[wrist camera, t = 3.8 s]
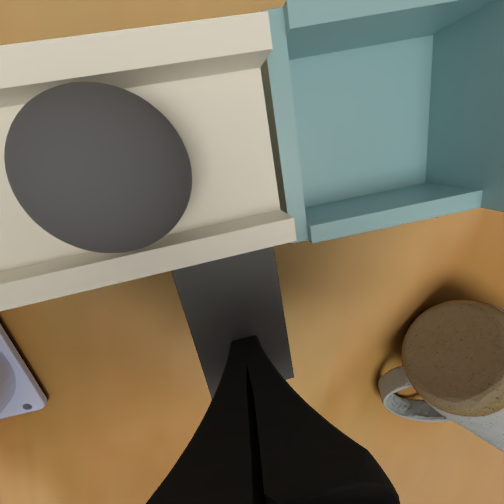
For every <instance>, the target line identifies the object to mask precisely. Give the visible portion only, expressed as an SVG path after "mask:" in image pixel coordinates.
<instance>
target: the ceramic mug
mask: <svg viewBox="0 0 504 504" xmlns="http://www.w3.org/2000/svg"><path fill="white" fill-rule="evenodd" d="M402 363H403V365H402V366H400V367H396V368H393V369H391V370H389V371H388V372H387V373H385V374H384V375H382V376H381V378H380V380H379V382H378V387H379V391H380V395H381V400H382V403H383V405H384V406H385V408H386V409H387V410H389V411H390V412H392V413H393V414H395V415H397V416H400V417H403V418H406V419H411V420H417V421H453V422H455V423H457V424H459V425H460V426H462V427H464V428H466V429H467V430H469V431H470V432H472V433H474V434H475V435H477V436H478V437H480V438H481V439H483V440H484V441H486V442H488V443H489V444H491V445H492V446H494V447H496V448H497V449H499V450H501V451H503V452H504V310H502V309H500V308H498V307H495V306H493V305H490V304H487V303H483V302H478V301H474V300H451V301H447V302H443V303H440V304H438V305H435V306H433V307H431V308H429V309H427V310H426V311H424V312H423V313H422V314H420V315H419V316H418V317H417V318H416V319H415V321H414V322H413V323H412V324H411V325H410V327H409V329H408V331H407V333H406V335H405V337H404V341H403V345H402ZM411 386H412V387H413V388H414V389H415V390H416V391H417V392H418V394H419V395H420V396H421V397H422V398H423V399H424V400H419V399H405V398H401V397H399V396H397V395H396V394H394V393H396V392H397V391H400V390H402V389H406V388H408V387H411Z"/></svg>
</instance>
